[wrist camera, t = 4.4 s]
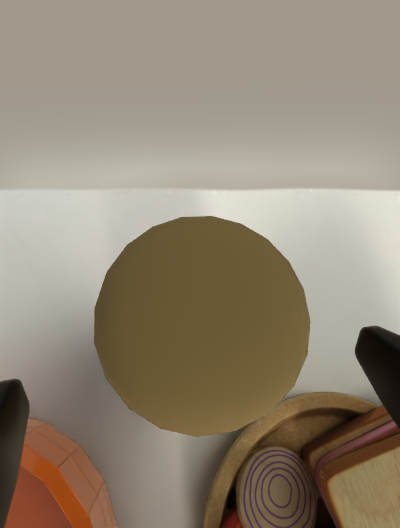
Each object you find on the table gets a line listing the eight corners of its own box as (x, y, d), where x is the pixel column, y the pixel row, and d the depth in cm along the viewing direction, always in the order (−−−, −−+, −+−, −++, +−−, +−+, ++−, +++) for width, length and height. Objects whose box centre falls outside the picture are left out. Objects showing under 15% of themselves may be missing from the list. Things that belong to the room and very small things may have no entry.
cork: (131, 422, 15) (79, 541, 5) (110, 302, 17) (37, 197, 6) (247, 387, 16) (404, 420, 6) (216, 279, 18) (298, 158, 8)
